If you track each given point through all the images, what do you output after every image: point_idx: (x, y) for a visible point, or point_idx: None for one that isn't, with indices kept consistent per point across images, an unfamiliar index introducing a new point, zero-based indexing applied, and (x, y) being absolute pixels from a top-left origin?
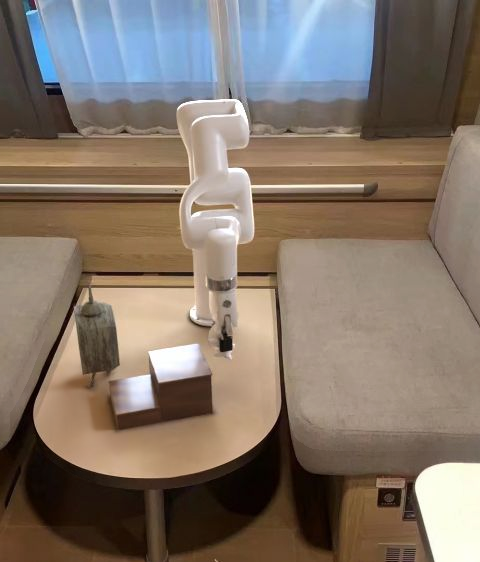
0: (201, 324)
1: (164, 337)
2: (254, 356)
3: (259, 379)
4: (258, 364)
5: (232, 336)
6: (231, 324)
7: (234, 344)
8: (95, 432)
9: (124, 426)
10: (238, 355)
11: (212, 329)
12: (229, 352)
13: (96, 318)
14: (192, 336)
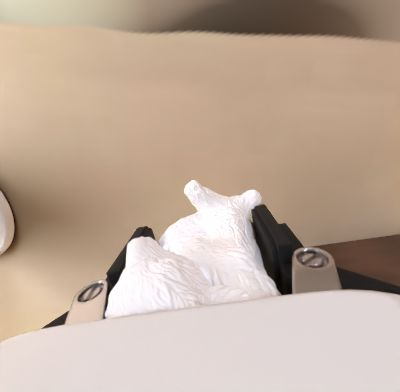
0: (12, 238)
1: None
2: (152, 98)
3: (283, 91)
4: (198, 88)
5: (332, 258)
6: (161, 251)
7: (195, 186)
8: None
9: None
10: (147, 150)
11: None
12: (242, 206)
13: None
14: (68, 256)
